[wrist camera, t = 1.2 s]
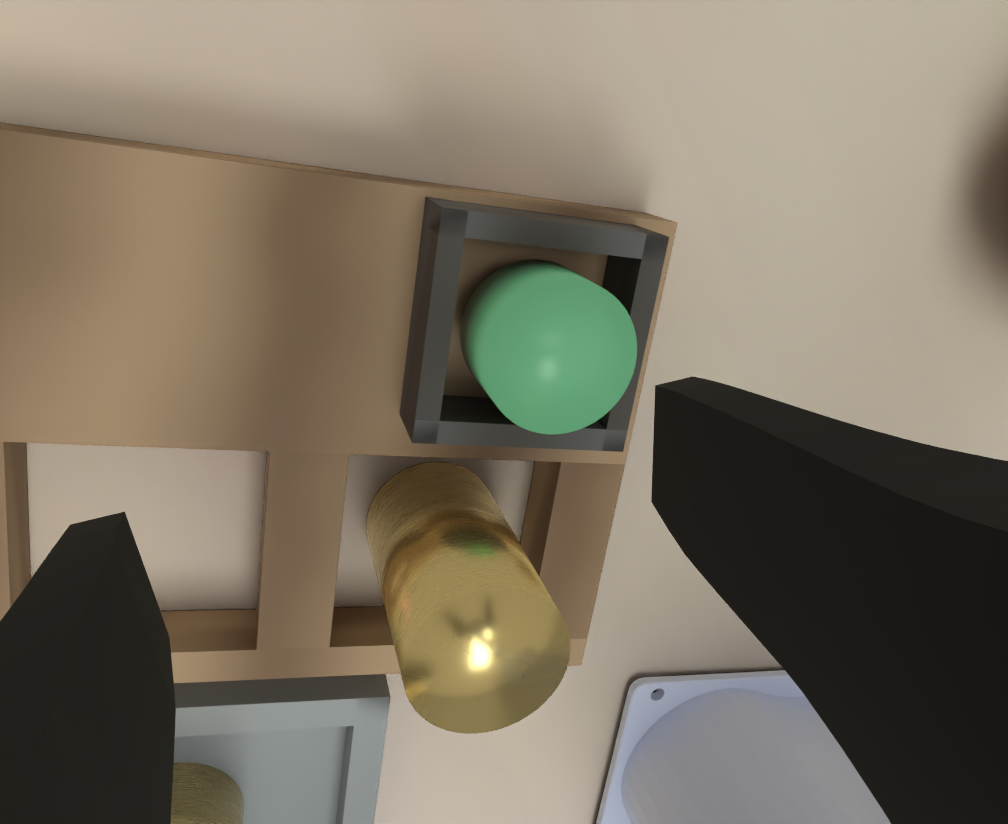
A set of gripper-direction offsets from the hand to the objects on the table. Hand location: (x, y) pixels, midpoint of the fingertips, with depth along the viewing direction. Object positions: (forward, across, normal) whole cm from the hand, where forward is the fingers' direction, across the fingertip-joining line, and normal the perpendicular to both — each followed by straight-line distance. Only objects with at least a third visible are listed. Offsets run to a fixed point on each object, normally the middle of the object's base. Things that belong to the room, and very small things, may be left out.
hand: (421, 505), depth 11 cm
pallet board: (+12, +1, +5) cm, 13 cm away
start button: (+9, -5, +2) cm, 10 cm away
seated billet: (+11, -2, +9) cm, 14 cm away
